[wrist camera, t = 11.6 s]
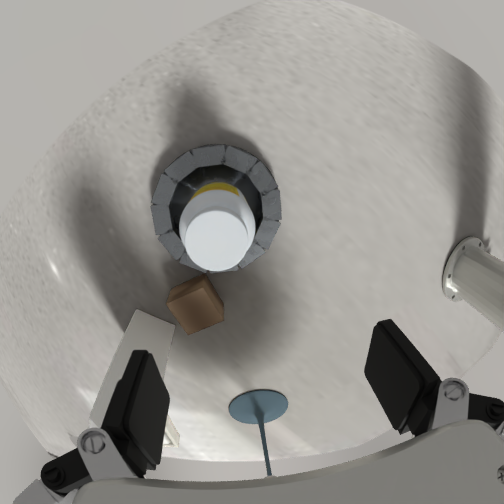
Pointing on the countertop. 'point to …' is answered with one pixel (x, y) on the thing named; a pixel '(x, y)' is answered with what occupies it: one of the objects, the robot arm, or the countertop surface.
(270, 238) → the collar
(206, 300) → the walnut block
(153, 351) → the milk
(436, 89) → the countertop surface
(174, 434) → the soap dish
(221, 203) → the pill bottle
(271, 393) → the cocktail glass
